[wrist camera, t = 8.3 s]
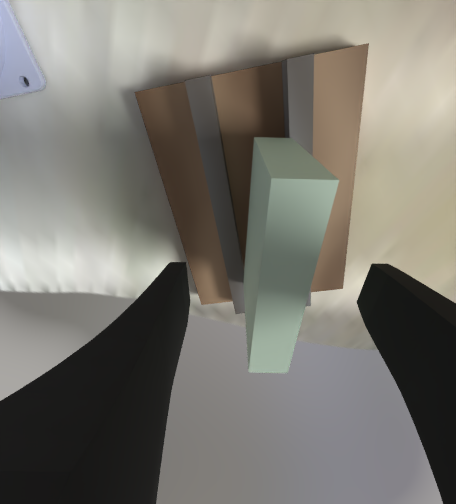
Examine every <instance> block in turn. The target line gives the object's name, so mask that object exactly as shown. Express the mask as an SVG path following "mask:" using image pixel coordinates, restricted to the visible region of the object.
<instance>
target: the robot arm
mask: <svg viewBox="0 0 456 504" xmlns="http://www.w3.org/2000/svg"><path fill="white" fill-rule="evenodd" d="M24 77H26V78H27V79H28V81H29V86H27V85H26V84H25V83H24ZM45 87H46V81H45V78H44V76H43V74H42V72H41V69H40V67H39V65H38V63H37V61H36V59H35V57H34V55H33V52H32V50H31V48H30V46H29V44H28V42H27V40H26V37H25V35H24V33H23V31H22V29H21V27H20V25H19V23H18V20H17V18H16V16H15V14H14V12H13V10H12V8H11V6H10V3H9V1H8V0H0V99H4V98H9V97H14V96H18V95H23V94H27V93H32V92H37V91H41V90H43V89H44V88H45ZM357 304H358V307H359V310H360V313H361V316H362V318H363V321H364V323H365V326H366V328H367V330H368V332H369V334H370V335H371V337H372V339H373V341H374V343H375V345H376V347H377V348H378V350H379V352H380V354H381V356H382V358H383V359H384V361H385V363H386V365H387V367H388V369H389V370H390V372H391V374H392V376H393V378H394V379H395V381H396V384H397V386H398V388H399V390H400V391H401V394H402V396H403V398H404V401H405V403H406V405H407V408H408V410H409V412H410V415H411V417H412V419H413V422H414V424H415V426H416V429H417V432H418V434H419V437H420V440H421V442H422V445H423V447H424V450H425V452H426V455H427V458H428V460H429V464H430V466H431V469H432V472H433V475H434V478H435V481H436V483H437V486H438V489H439V492H440V495H441V498H442V501H443V504H456V303H454V302H452V301H451V300H449V299H447V298H446V297H444V296H442V295H441V294H439V293H437V292H436V291H434V290H432V289H431V288H429V287H427V286H426V285H424V284H422V283H421V282H419V281H417V280H416V279H414V278H412V277H411V276H409V275H407V274H406V273H404V272H402V271H400V270H399V269H397V268H395V267H393V266H391V265H389V264H371V267H370V270H369V272H368V275H367V277H366V280H365V282H364V285H363V287H362V290H361V293H360V295H359V298H358V300H357ZM189 307H190V294H189V285H188V276H187V267H186V262H170V263H169V264H168V265H167V266H166V267H165V268H164V270H163V271H162V272H161V273H160V274H159V275H158V277H157V278H156V279H155V280H154V281H153V282H152V283H151V285H150V286H149V287H148V288H147V289H146V290H145V291H144V292H143V293H142V294H141V295H140V296H139V297H138V298H137V300H136V301H135V302H134V303H133V304H131V305H130V306H129V307H128V308H127V309H126V310H125V311H124V312H123V313H122V314H121V315H120V316H119V317H118V318H117V319H116V320H115V321H114V322H112V323H111V324H110V325H109V326H108V327H107V328H106V329H105V330H103V331H102V332H101V333H100V334H98V335H97V336H96V337H95V338H93V340H91V341H90V342H88V343H87V344H86V345H85V346H83V347H81V348H80V349H79V350H77V351H76V352H75V353H73V354H72V355H71V356H69V357H68V358H66V359H65V360H64V361H62V362H61V363H59V364H58V365H57V366H55V367H54V368H52V369H51V370H49V371H48V372H46V373H45V374H43V375H42V376H40V377H39V378H37V379H35V380H34V381H32V382H31V383H29V384H27V385H26V386H24V387H23V388H21V389H20V390H18V391H16V392H15V393H13V394H11V395H10V396H8V397H6V398H5V399H3V400H1V401H0V504H156V498H157V491H158V483H159V475H160V467H161V460H162V452H163V445H164V437H165V430H166V423H167V416H168V410H169V403H170V396H171V390H172V385H173V380H174V376H175V372H176V368H177V364H178V360H179V356H180V352H181V348H182V344H183V340H184V336H185V332H186V327H187V322H188V315H189Z"/></svg>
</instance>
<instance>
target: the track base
mask: <svg viewBox="0 0 456 504" xmlns="http://www.w3.org/2000/svg"><path fill="white" fill-rule="evenodd" d="M368 46H369V43H368V44H363V45H358V46H354V47H349V48H344V49H339V50H334V51H330V52H325V53H320V54H315V55H314V53H313V54H309V55H304V56H299V57H294V58H290V59H286V60H284V61H282V62H277V63H272V64H267V65H263V66H258V67H253V68H248V69H243V70H239V71H234V72H229V73H224V74H219V75H215V76H210V75H208V76H204V77H199V78H194V79H189V80H185V82H181V83H176V84H172V85H167V86H162V87H157V88H152V89H148V90H143V91H138V92H135V95H136V98H137V101H138V105H139V108H140V111H141V114H142V117H143V120H144V124H145V127H146V130H147V133H148V136H149V139H150V143H151V146H152V149H153V152H154V155H155V158H156V162H157V165H158V168H159V171H160V174H161V177H162V181H163V184H164V187H165V190H166V193H167V196H168V200H169V203H170V206H171V209H172V212H173V215H174V219H175V222H176V225H177V228H178V231H179V234H180V238H181V241H182V244H183V247H184V250H185V253H186V257H187V260H188V263H189V266H190V269H191V272H192V276H193V279H194V282H195V285H196V288H197V291H198V295H199V298H200V301H201V304H202V305H204V304H212V303H221V302H230V301H233V304H234V309H235V313H236V314H240V313H245V302H244V285H243V281H244V267H245V254H246V240H247V227H248V213H249V199H250V186H251V172H252V158H253V145H254V137H269V138H293V139H294V140H295V141H296V142H297V143H298V144H299V145H300V146H302V147H303V148H304V149H305V150H306V151H307V152H308V153H309V154H311V155H312V156H313V157H314V158H315V159H316V160H317V161H318V162H320V163H321V164H322V165H323V166H324V167H325V168H326V169H327V170H328V171H330V172H331V173H332V174H333V175H334V176H335V177H336V178H337V179H339V183H338V187H337V191H336V195H335V198H334V202H333V206H332V209H331V213H330V217H329V221H328V224H327V228H326V232H325V236H324V239H323V243H322V247H321V250H320V254H319V258H318V262H317V265H316V269H315V273H314V276H313V280H312V284H311V288H310V291H309V295H308V299H307V303H306V306H311V292H317V291H326V290H335V289H343V282H344V272H345V263H346V254H347V244H348V235H349V225H350V216H351V206H352V197H353V188H354V178H355V169H356V159H357V150H358V140H359V131H360V122H361V112H362V103H363V93H364V84H365V74H366V65H367V56H368Z"/></svg>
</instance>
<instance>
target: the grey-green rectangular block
mask: <svg viewBox="0 0 456 504" xmlns="http://www.w3.org/2000/svg"><path fill="white" fill-rule="evenodd" d="M338 183H339V179H337V178H336V177H335V176H334V175H333V174H332V173H331V172H330V171H328V170H327V169H326V168H325V167H324V166H323V165H322V164H321V163H320V162H318V161H317V160H316V159H315V158H314V157H313V156H312V155H311V154H309V153H308V152H307V151H306V150H305V149H304V148H303V147H302V146H300V145H299V144H298V143H297V142H296V141H295V140H294V139H293V138H269V137H254V145H253V158H252V172H251V186H250V199H249V213H248V227H247V240H246V254H245V267H244V281H243V285H244V302H245V319H246V335H247V353H248V369H249V372H262V373H263V372H265V373H288V370H289V366H290V362H291V358H292V355H293V350H294V347H295V344H296V340H297V336H298V332H299V329H300V325H301V321H302V317H303V314H304V310H305V306H306V303H307V299H308V295H309V291H310V288H311V284H312V280H313V276H314V273H315V269H316V265H317V262H318V258H319V254H320V250H321V247H322V243H323V239H324V236H325V232H326V228H327V224H328V221H329V217H330V213H331V209H332V206H333V202H334V198H335V195H336V191H337V187H338Z"/></svg>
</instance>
